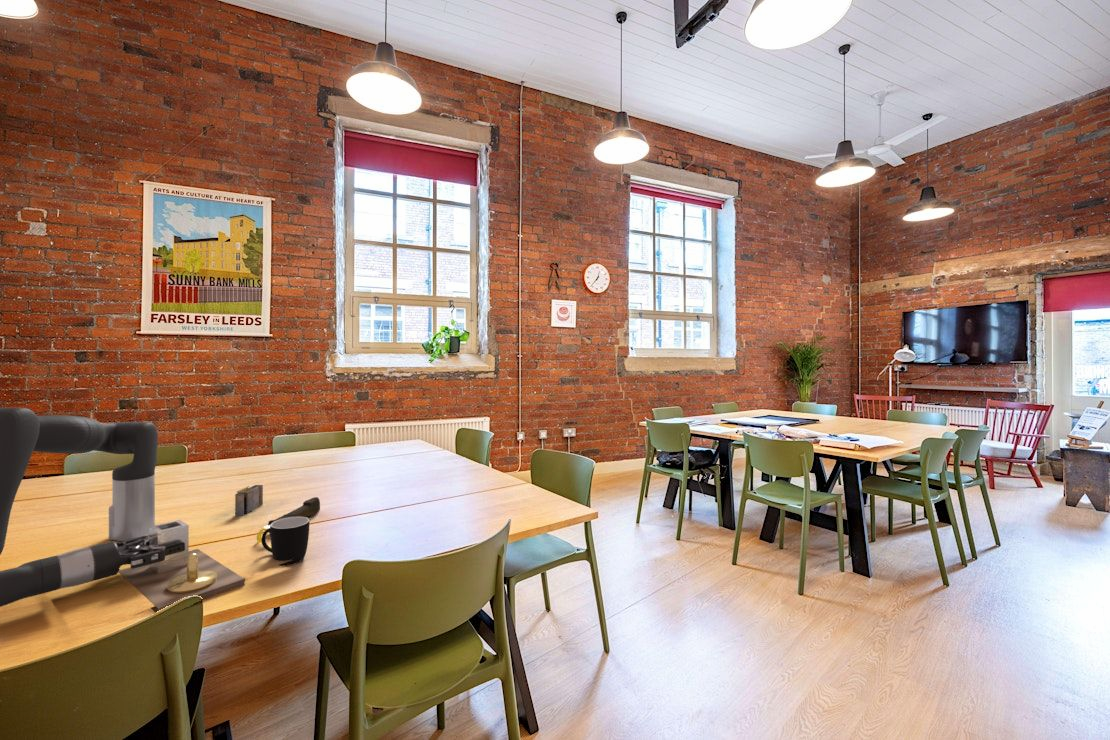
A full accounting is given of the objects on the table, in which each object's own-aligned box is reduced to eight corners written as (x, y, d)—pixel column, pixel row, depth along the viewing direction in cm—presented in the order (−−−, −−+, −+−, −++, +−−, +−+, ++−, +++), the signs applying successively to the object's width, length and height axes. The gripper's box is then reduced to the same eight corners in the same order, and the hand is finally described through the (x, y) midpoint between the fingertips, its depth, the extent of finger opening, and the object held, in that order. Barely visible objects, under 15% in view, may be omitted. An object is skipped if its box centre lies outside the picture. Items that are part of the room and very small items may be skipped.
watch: (254, 549, 130) (254, 527, 129) (261, 545, 132) (261, 524, 132) (275, 550, 129) (275, 528, 129) (281, 546, 132) (281, 525, 132)
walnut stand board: (117, 576, 112) (117, 533, 112) (197, 554, 125) (197, 515, 125) (158, 615, 96) (157, 564, 96) (244, 585, 110) (244, 540, 109)
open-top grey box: (157, 573, 111) (157, 532, 111) (149, 567, 114) (149, 526, 114) (188, 564, 116) (188, 524, 116) (179, 558, 119) (179, 519, 119)
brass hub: (158, 596, 101) (158, 564, 101) (177, 577, 109) (177, 547, 109) (208, 590, 104) (208, 559, 104) (222, 572, 112) (222, 543, 112)
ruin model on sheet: (244, 517, 156) (244, 488, 155) (235, 517, 155) (235, 487, 155) (264, 506, 167) (264, 479, 167) (255, 506, 167) (255, 479, 166)
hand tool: (281, 536, 140) (281, 517, 139) (266, 535, 140) (266, 516, 140) (328, 511, 162) (328, 495, 162) (315, 511, 163) (315, 495, 162)
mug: (316, 553, 127) (316, 517, 127) (296, 568, 118) (296, 529, 118) (273, 552, 128) (273, 515, 128) (250, 566, 119) (250, 527, 119)
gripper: (96, 556, 99) (189, 533, 112) (79, 540, 107) (167, 520, 120) (96, 591, 99) (189, 564, 113) (79, 572, 107) (168, 549, 121)
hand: (178, 541), depth 116 cm, fingers open, 8 cm apart
